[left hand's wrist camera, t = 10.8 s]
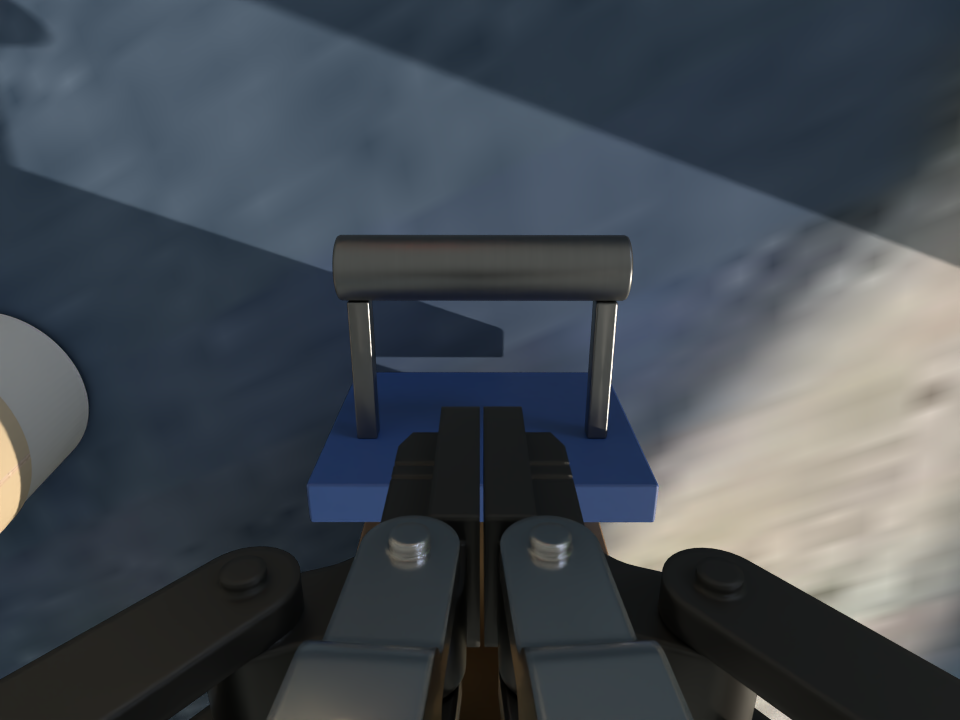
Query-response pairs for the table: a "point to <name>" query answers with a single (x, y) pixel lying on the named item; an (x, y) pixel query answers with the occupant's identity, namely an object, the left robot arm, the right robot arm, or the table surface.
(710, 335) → the table surface
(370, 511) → the drawer
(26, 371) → the coffee cup
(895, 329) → the table surface
